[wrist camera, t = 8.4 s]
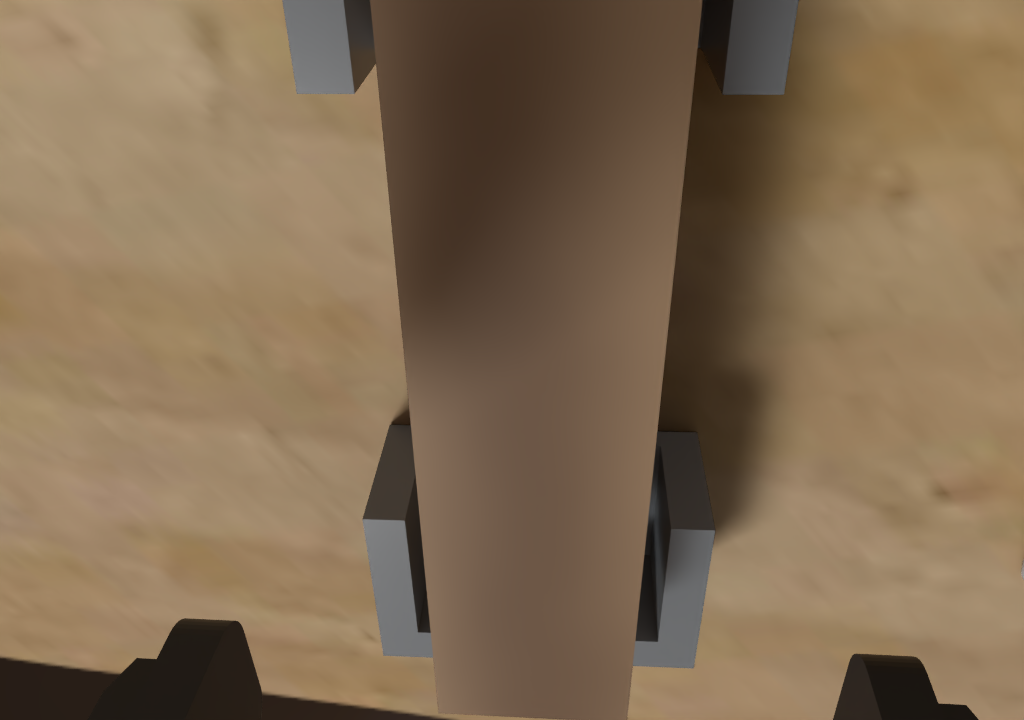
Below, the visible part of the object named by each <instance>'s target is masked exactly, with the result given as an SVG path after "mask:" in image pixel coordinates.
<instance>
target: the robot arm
mask: <svg viewBox="0 0 1024 720" xmlns="http://www.w3.org/2000/svg"><path fill="white" fill-rule="evenodd" d="M261 714H262V691H261V687H260V683H259V680H258V677H257V673H256V670H255V667H254V663H253V660H252V657H251V653H250V650H249V647H248V643H247V640H246V637H245V633H244V630H243V627H242V625H241V624H240V623H239V622H238V621H226V620H206V619H186V618H185V619H182V620H180V621H178V622H177V623H176V625H175V626H174V627H173V629H172V630H171V632H170V634H169V636H168V638H167V640H166V642H165V644H164V646H163V648H162V650H161V652H160V654H159V656H158V658H157V659H142V658H137V659H136V660H135V661H134V662H133V663H132V664H131V665H129V666H128V667H127V668H126V669H125V670H124V671H123V672H122V673H121V674H120V675H119V676H118V677H117V678H116V679H115V680H114V681H113V682H112V683H111V684H110V685H109V686H108V687H107V688H106V689H105V690H104V691H103V693H102V695H101V697H100V698H99V700H98V702H97V704H96V706H95V707H94V709H93V711H92V713H91V715H90V717H89V718H88V720H261ZM833 720H978V718H977V717H976V716H975V715H974V714H973V713H972V711H971V710H970V709H969V708H968V707H967V706H966V705H955V704H938V702H937V699H936V696H935V693H934V691H933V688H932V685H931V683H930V680H929V677H928V674H927V672H926V670H925V667H924V666H923V664H922V662H921V661H920V660H919V659H918V658H917V657H912V656H892V655H871V654H854V655H853V656H852V657H851V659H850V662H849V665H848V669H847V672H846V676H845V679H844V683H843V687H842V690H841V694H840V697H839V701H838V704H837V708H836V711H835V715H834V718H833Z"/></svg>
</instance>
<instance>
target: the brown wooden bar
mask: <svg viewBox="0 0 1024 720" xmlns="http://www.w3.org/2000/svg"><path fill="white" fill-rule="evenodd" d="M370 5H371V15H372V25H373V36H374V46H375V57H376V67H377V78H378V88H379V98H380V109H381V119H382V130H383V140H384V151H385V161H386V171H387V182H388V192H389V203H390V213H391V223H392V234H393V244H394V255H395V265H396V276H397V286H398V296H399V307H400V317H401V328H402V338H403V348H404V359H405V369H406V380H407V390H408V401H409V411H410V421H411V432H412V442H413V453H414V463H415V474H416V484H417V494H418V505H419V515H420V526H421V536H422V546H423V557H424V567H425V578H426V588H427V599H428V609H429V619H430V630H431V640H432V651H433V661H434V672H435V682H436V692H437V703H438V713H444V714H465V715H485V716H505V717H526V718H546V719H567V720H627V715H628V706H629V696H630V687H631V677H632V668H633V658H634V649H635V639H636V630H637V620H638V610H639V601H640V591H641V582H642V572H643V563H644V553H645V544H646V534H647V525H648V515H649V506H650V496H651V487H652V477H653V468H654V458H655V448H656V439H657V429H658V420H659V410H660V401H661V391H662V382H663V372H664V363H665V353H666V344H667V334H668V325H669V315H670V305H671V296H672V286H673V277H674V267H675V258H676V248H677V239H678V229H679V220H680V210H681V201H682V191H683V182H684V172H685V162H686V153H687V143H688V134H689V124H690V115H691V105H692V96H693V86H694V77H695V67H696V58H697V48H698V39H699V29H700V20H701V10H702V0H370Z"/></svg>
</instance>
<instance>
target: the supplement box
mask: <svg viewBox="0 0 1024 720" xmlns="http://www.w3.org/2000/svg"><path fill="white" fill-rule="evenodd" d="M1021 574H1022V577H1023V579H1024V560H1023V565H1022V570H1021Z"/></svg>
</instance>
